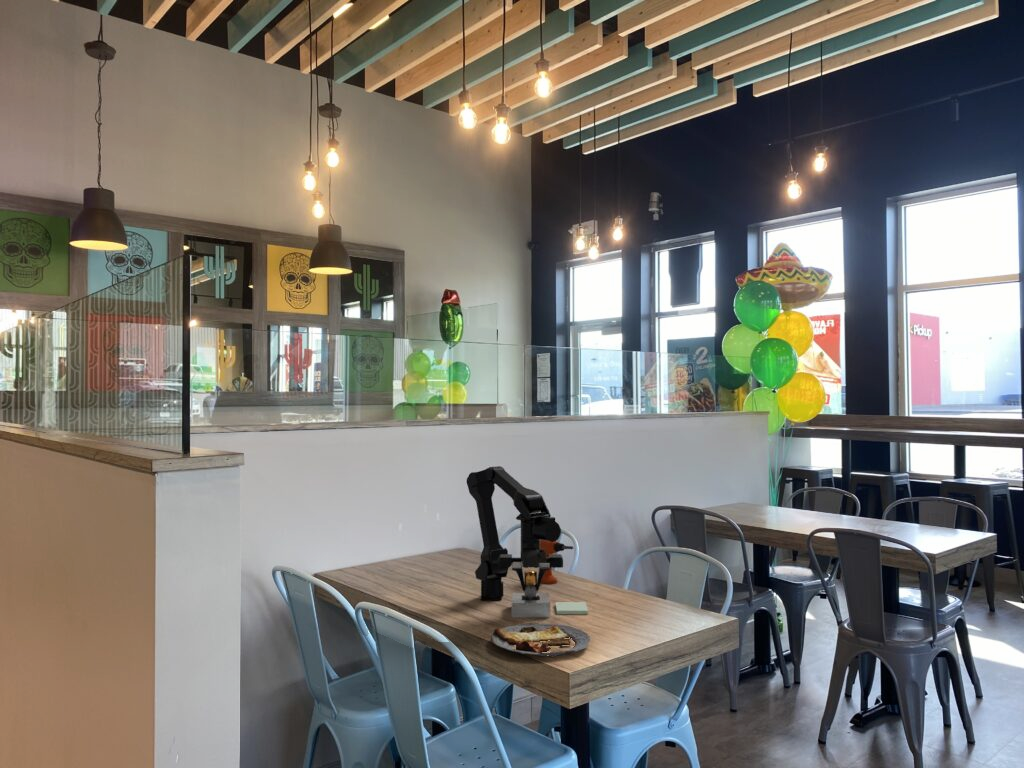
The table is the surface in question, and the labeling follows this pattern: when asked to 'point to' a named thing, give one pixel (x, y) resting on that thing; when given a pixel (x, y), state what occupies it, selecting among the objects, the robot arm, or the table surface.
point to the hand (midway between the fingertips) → (530, 590)
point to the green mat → (571, 608)
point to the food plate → (539, 638)
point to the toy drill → (550, 549)
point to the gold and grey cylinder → (530, 584)
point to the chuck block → (530, 605)
